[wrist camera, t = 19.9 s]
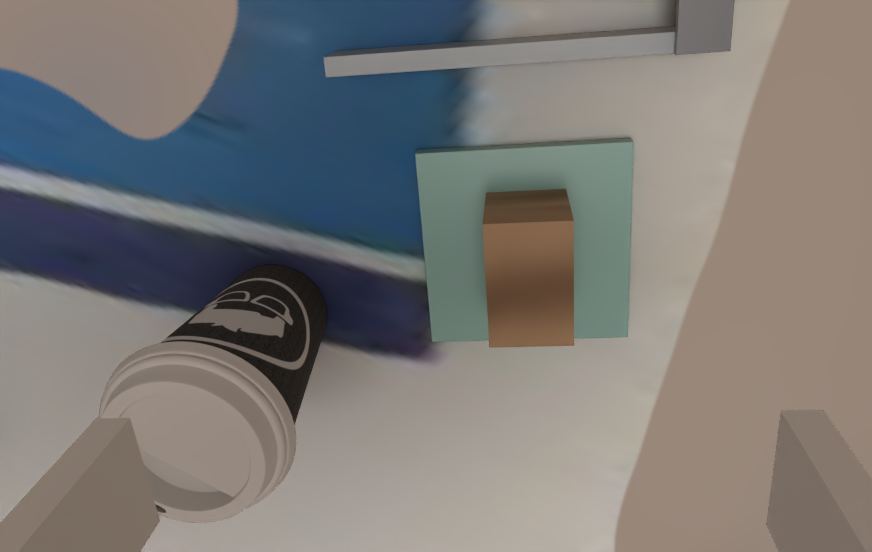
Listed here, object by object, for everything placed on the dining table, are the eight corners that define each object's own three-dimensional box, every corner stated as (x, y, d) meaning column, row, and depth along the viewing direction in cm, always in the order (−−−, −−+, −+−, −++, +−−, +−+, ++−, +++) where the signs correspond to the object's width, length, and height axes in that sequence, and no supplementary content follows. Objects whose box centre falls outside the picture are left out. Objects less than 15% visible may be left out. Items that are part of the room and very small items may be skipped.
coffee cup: (176, 292, 47) (37, 429, 33) (284, 212, 44) (180, 326, 30) (272, 397, 49) (181, 564, 36) (380, 328, 46) (326, 481, 33)
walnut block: (485, 192, 41) (482, 224, 36) (566, 188, 40) (573, 220, 35) (491, 303, 44) (489, 347, 39) (566, 301, 43) (574, 345, 38)
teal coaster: (433, 334, 46) (432, 341, 45) (417, 149, 41) (415, 153, 40) (625, 329, 45) (627, 337, 44) (630, 137, 40) (633, 141, 39)
